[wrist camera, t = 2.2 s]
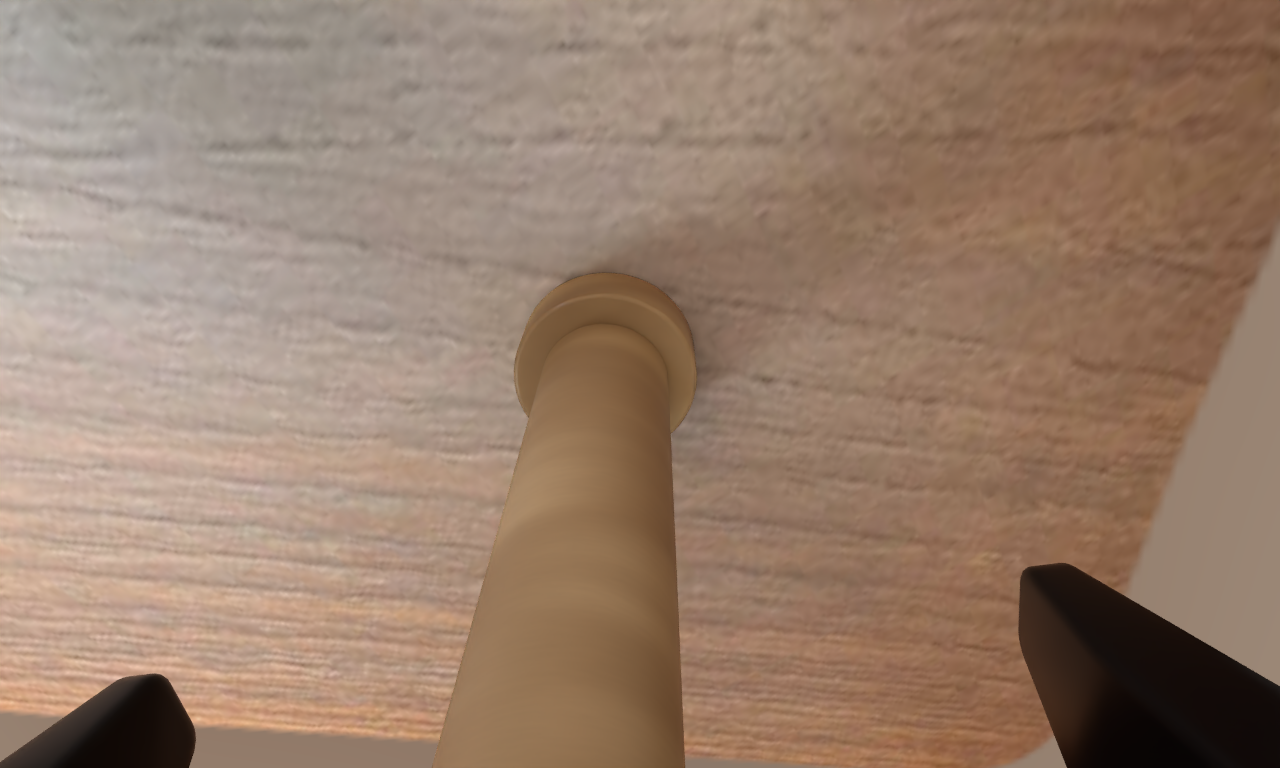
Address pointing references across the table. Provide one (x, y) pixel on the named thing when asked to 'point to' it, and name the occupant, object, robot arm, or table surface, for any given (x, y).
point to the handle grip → (584, 546)
